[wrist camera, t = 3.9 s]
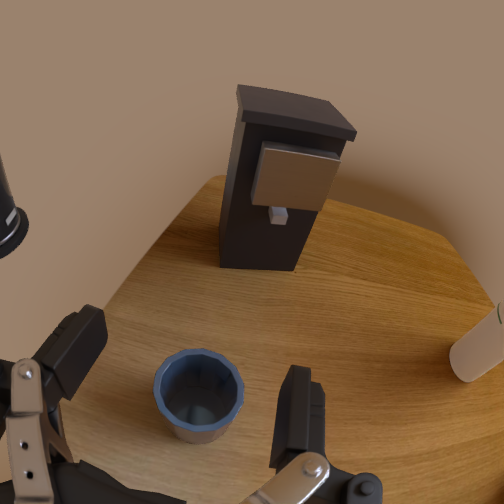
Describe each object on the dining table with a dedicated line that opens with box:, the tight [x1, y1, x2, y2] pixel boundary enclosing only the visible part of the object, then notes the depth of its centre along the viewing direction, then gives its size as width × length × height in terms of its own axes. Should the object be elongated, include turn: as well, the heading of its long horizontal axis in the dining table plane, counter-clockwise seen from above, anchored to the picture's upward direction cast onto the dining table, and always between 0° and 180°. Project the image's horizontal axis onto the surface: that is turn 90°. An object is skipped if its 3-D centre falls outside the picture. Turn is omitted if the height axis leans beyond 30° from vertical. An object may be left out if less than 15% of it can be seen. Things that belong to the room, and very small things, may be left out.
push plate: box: [250, 141, 341, 211], centre depth 27 cm, size 2×7×6 cm, turn 95°
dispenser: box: [219, 85, 357, 271], centre depth 34 cm, size 11×11×21 cm
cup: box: [153, 348, 244, 444], centre depth 22 cm, size 6×6×9 cm
